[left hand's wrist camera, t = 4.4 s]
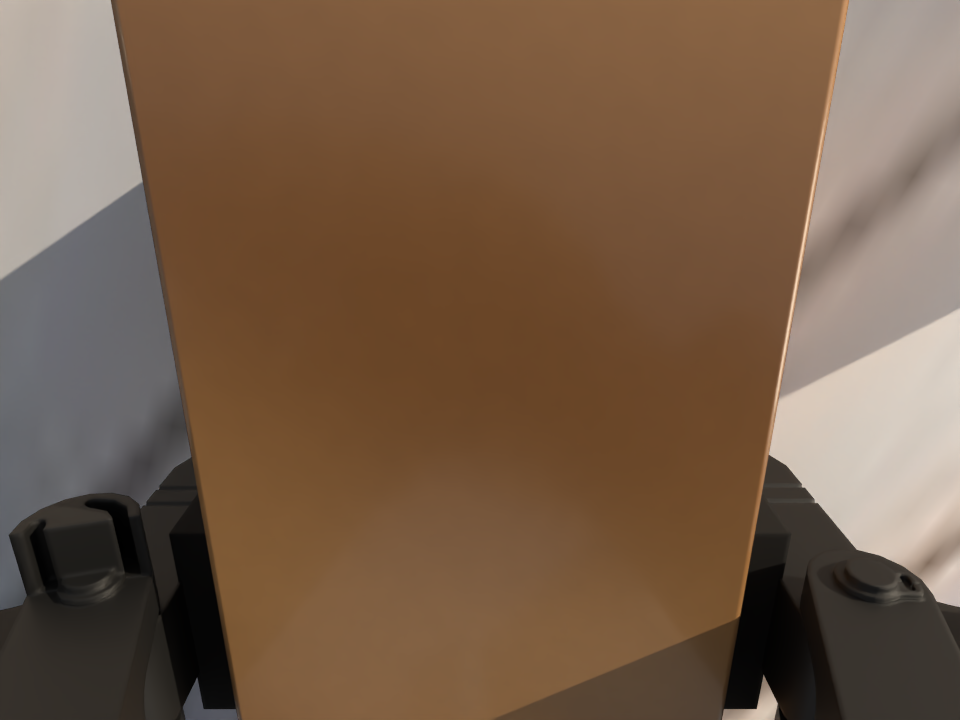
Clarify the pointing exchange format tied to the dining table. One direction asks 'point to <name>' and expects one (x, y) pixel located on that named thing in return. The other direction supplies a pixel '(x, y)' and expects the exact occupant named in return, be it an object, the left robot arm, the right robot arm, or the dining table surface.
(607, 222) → the beam
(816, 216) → the dining table surface
